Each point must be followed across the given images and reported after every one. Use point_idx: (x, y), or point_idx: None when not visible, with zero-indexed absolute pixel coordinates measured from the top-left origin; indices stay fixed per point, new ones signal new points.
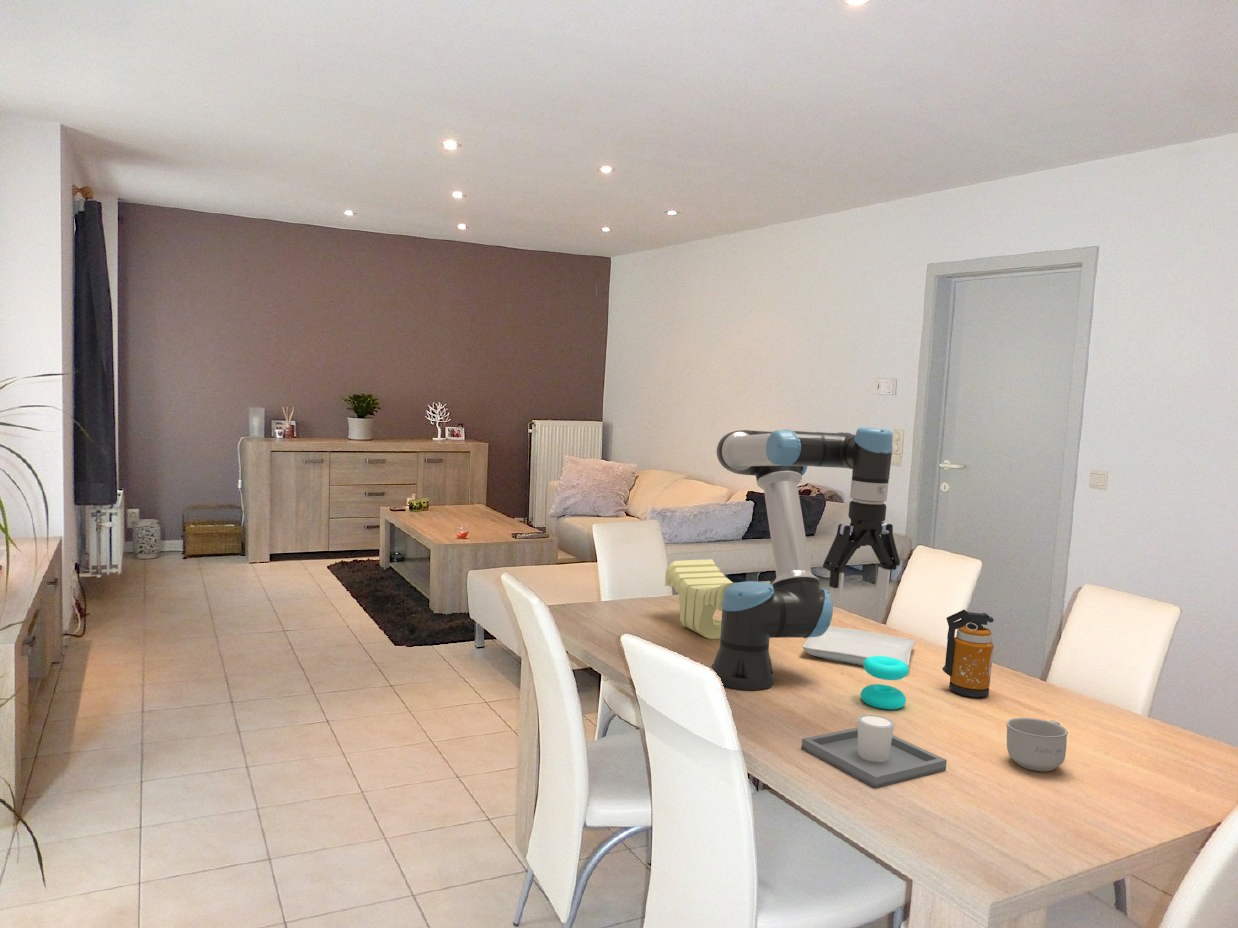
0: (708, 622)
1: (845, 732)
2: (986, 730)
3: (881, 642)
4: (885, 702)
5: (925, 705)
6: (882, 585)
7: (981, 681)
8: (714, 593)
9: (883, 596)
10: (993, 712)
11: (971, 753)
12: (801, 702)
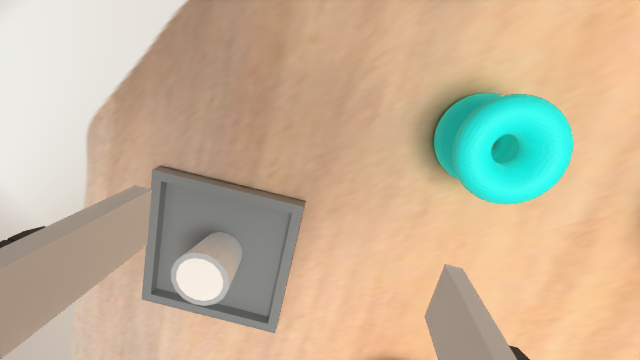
0: None
1: (235, 198)
2: (485, 306)
3: None
4: (441, 164)
5: None
6: (451, 346)
7: None
8: None
9: (430, 316)
10: (595, 285)
11: (366, 323)
12: (341, 32)
